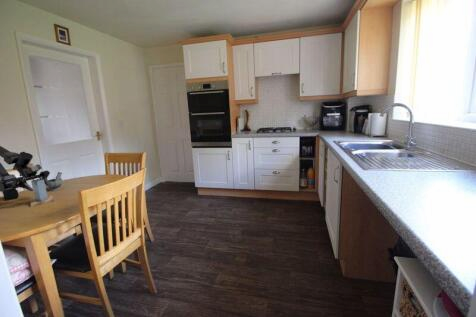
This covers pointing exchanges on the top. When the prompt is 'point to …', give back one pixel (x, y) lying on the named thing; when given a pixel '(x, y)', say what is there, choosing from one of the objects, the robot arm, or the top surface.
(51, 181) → the mortar and pestle
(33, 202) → the walnut pad
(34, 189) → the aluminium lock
